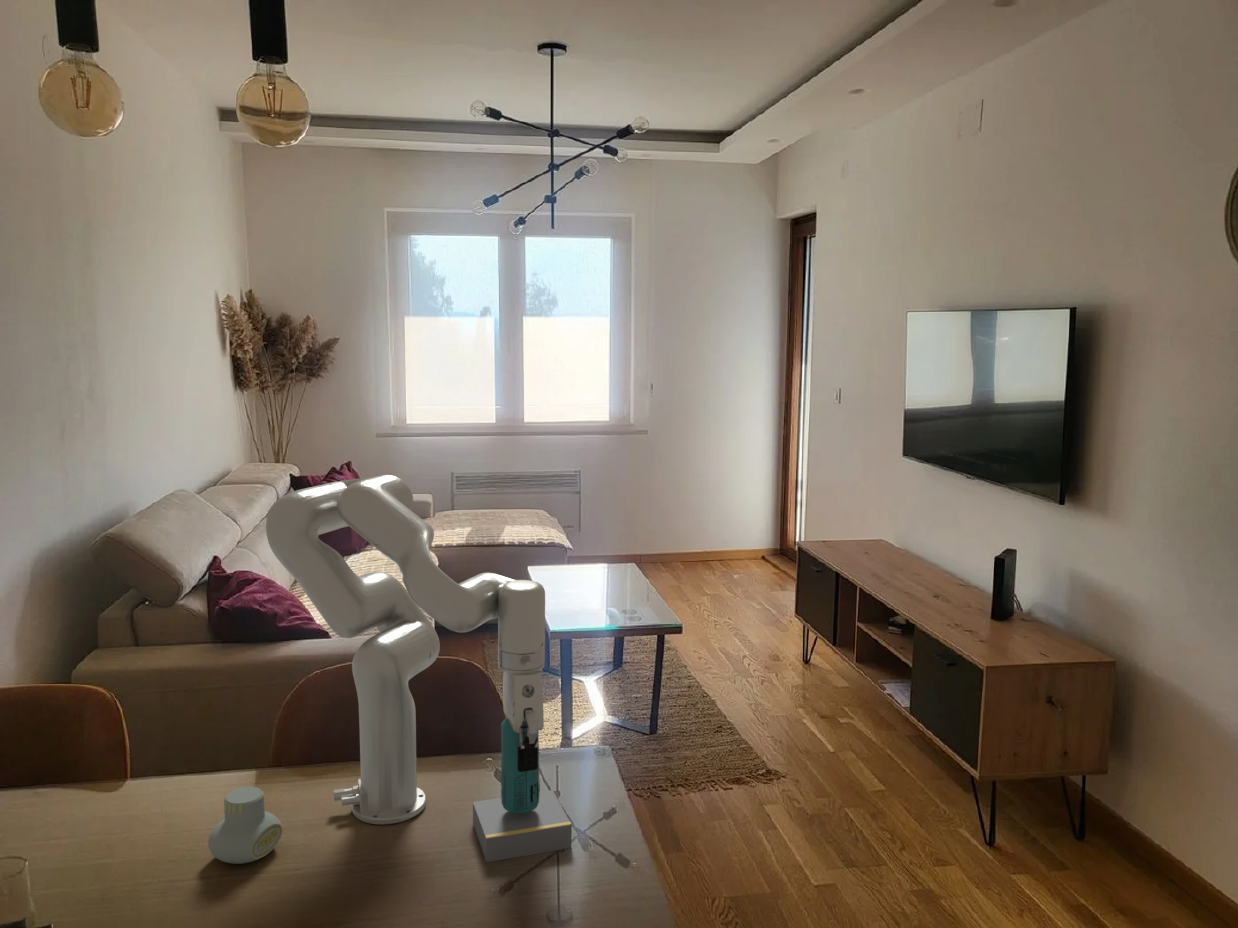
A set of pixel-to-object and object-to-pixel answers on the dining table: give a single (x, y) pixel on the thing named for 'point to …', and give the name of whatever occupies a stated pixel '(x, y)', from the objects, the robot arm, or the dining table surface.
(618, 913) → the dining table surface
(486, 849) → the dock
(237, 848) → the air freshener
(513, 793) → the beverage bottle
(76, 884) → the dining table surface
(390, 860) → the dining table surface
